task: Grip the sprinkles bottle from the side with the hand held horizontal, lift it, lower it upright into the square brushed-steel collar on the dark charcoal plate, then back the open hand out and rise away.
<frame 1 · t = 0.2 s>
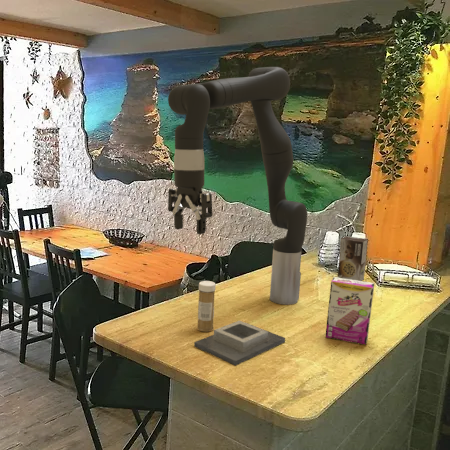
hand: (189, 231, 126), 29 cm above the bar counter, tool pointing down, fingers open, 8 cm apart
sprinkles bottle: (205, 329, 137), on the bar counter
cookie box: (350, 279, 193), on the bar counter
collar socket: (240, 344, 128), on the bar counter
candy bar box: (346, 339, 135), on the bar counter
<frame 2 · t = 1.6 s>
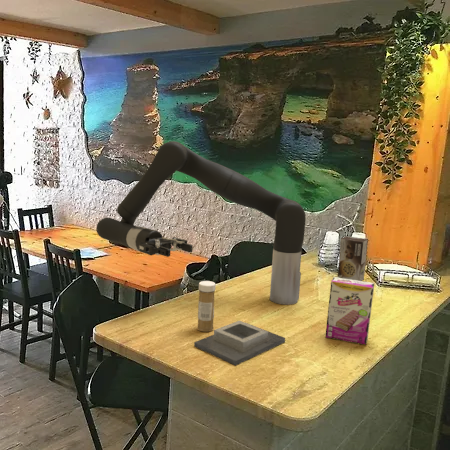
hand: (180, 251, 140), 20 cm above the bar counter, tool horizontal, fingers open, 8 cm apart
nothing on the bar counter moved.
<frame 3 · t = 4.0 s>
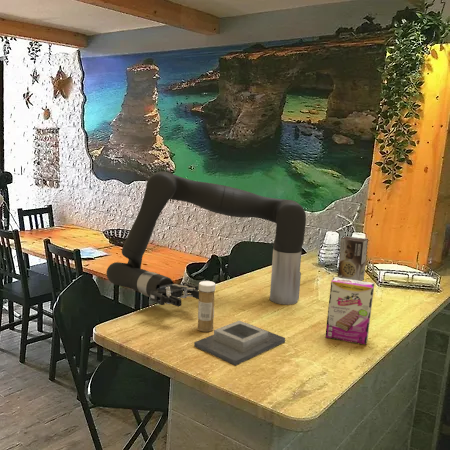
hand: (191, 299, 139), 7 cm above the bar counter, tool horizontal, fingers open, 8 cm apart
nothing on the bar counter moved.
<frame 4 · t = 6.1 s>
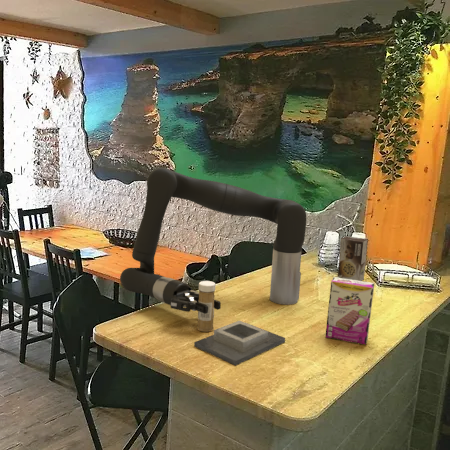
hand: (213, 307, 134), 7 cm above the bar counter, tool horizontal, fingers closed on sprinkles bottle, 4 cm apart
sprinkles bottle: (205, 329, 137), on the bar counter, touching gripper
everything else where it was.
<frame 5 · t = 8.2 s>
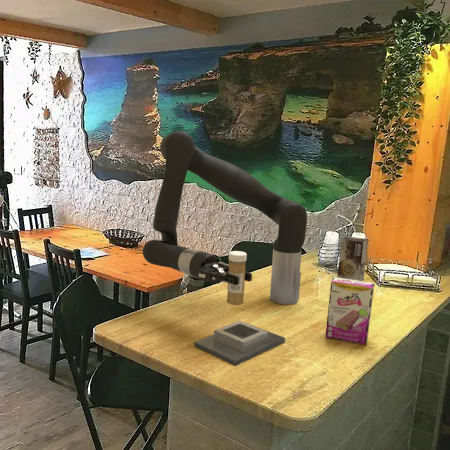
hand: (244, 279, 125), 18 cm above the bar counter, tool horizontal, fingers closed on sprinkles bottle, 4 cm apart
sprinkles bottle: (234, 303, 128), point 10 cm above the bar counter, touching gripper
everything else where it was.
when the fingers open (10 cm above the bar counter, at t = 10.7 s): sprinkles bottle drops 1 cm, resting on collar socket.
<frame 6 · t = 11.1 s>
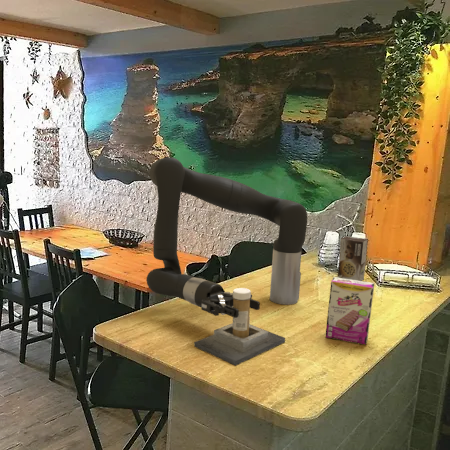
hand: (248, 309, 125), 10 cm above the bar counter, tool horizontal, fingers open, 8 cm apart
sprinkles bottle: (240, 340, 128), point 1 cm above the bar counter, touching collar socket
everything else where it was.
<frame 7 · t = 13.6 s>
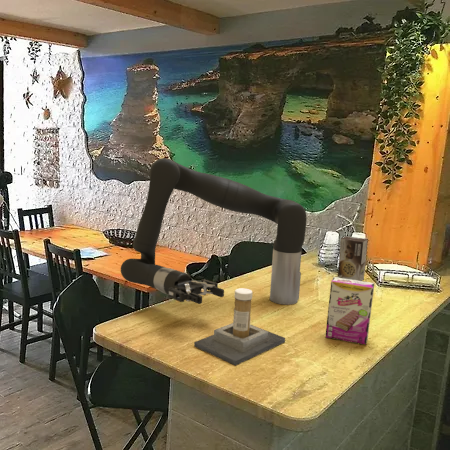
hand: (212, 296, 133), 10 cm above the bar counter, tool horizontal, fingers open, 8 cm apart
nothing on the bar counter moved.
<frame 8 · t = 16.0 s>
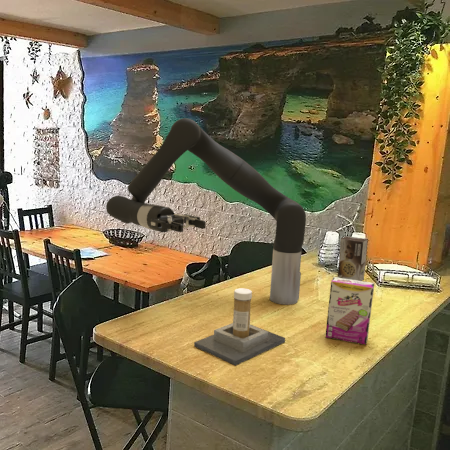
hand: (193, 226, 135), 28 cm above the bar counter, tool horizontal, fingers open, 8 cm apart
nothing on the bar counter moved.
at the end: sprinkles bottle 0.1 cm off-centre on the collar socket, point 1.0 cm above the collar socket's base; sprinkles bottle tilted 0°; the gripper is holding nothing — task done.
